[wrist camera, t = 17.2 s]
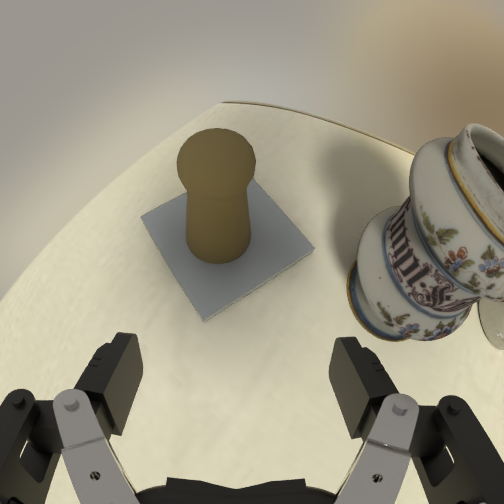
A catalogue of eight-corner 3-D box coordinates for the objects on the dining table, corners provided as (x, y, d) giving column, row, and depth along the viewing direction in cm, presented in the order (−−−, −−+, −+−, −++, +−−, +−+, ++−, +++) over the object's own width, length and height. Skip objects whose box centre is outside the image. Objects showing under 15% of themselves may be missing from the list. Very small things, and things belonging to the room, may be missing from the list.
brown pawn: (173, 229, 27) (150, 140, 17) (224, 197, 29) (226, 106, 19) (211, 277, 25) (202, 197, 15) (264, 239, 27) (285, 152, 17)
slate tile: (241, 171, 32) (241, 166, 31) (312, 251, 28) (314, 248, 27) (142, 221, 28) (140, 216, 27) (203, 322, 24) (203, 319, 23)
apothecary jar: (424, 243, 29) (521, 133, 14) (443, 347, 24) (587, 275, 8) (329, 235, 29) (409, 80, 13) (338, 357, 23) (502, 273, 7)
